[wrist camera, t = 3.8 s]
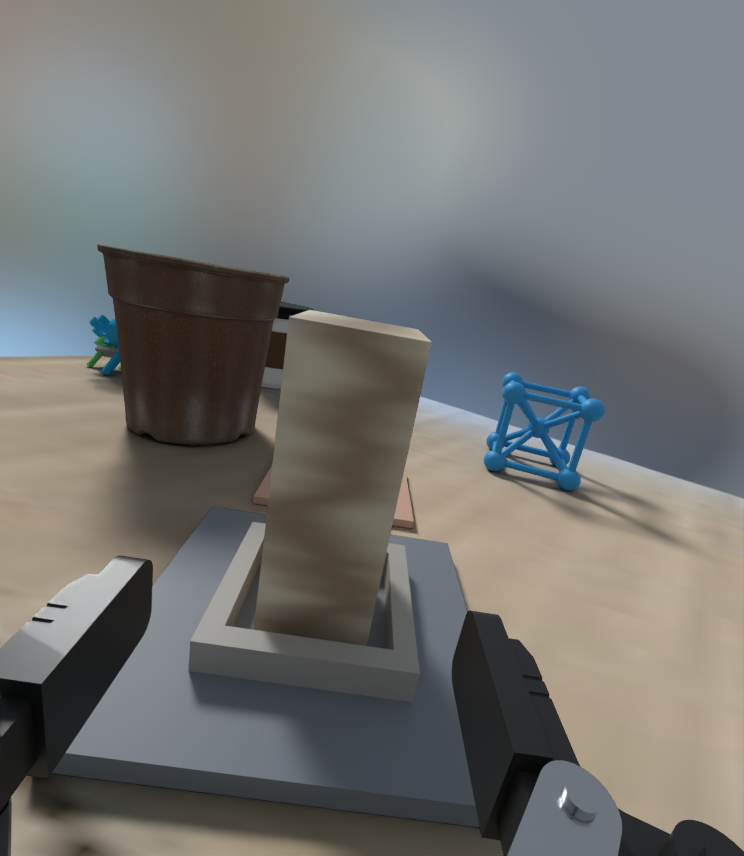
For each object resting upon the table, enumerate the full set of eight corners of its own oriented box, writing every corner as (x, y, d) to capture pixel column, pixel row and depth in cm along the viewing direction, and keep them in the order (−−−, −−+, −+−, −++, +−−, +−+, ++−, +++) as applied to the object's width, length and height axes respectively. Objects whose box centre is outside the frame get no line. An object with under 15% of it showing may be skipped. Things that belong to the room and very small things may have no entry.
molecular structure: (481, 471, 47) (505, 381, 44) (484, 445, 56) (505, 369, 53) (578, 496, 45) (610, 404, 42) (565, 465, 54) (591, 387, 51)
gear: (182, 368, 60) (127, 312, 52) (155, 402, 57) (93, 349, 50) (134, 360, 65) (78, 309, 58) (108, 391, 63) (45, 342, 55)
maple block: (252, 639, 19) (289, 316, 15) (276, 569, 24) (309, 310, 20) (364, 655, 19) (431, 342, 15) (366, 583, 24) (418, 329, 20)
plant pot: (93, 401, 46) (90, 240, 42) (242, 401, 56) (254, 269, 51) (109, 463, 34) (107, 244, 29) (297, 449, 44) (319, 282, 39)
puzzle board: (33, 770, 14) (27, 713, 13) (211, 519, 29) (213, 486, 28) (516, 832, 15) (537, 780, 14) (444, 555, 30) (452, 524, 29)
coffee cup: (235, 371, 71) (241, 295, 67) (303, 379, 74) (312, 306, 70) (232, 388, 61) (239, 300, 57) (311, 396, 64) (322, 313, 60)
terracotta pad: (252, 503, 32) (253, 495, 32) (280, 454, 42) (281, 448, 42) (412, 528, 33) (413, 521, 33) (403, 474, 42) (405, 468, 42)
